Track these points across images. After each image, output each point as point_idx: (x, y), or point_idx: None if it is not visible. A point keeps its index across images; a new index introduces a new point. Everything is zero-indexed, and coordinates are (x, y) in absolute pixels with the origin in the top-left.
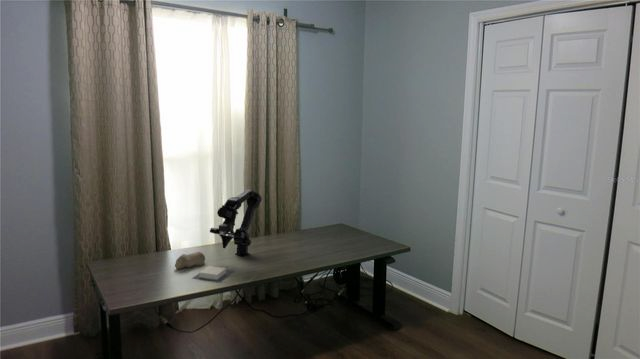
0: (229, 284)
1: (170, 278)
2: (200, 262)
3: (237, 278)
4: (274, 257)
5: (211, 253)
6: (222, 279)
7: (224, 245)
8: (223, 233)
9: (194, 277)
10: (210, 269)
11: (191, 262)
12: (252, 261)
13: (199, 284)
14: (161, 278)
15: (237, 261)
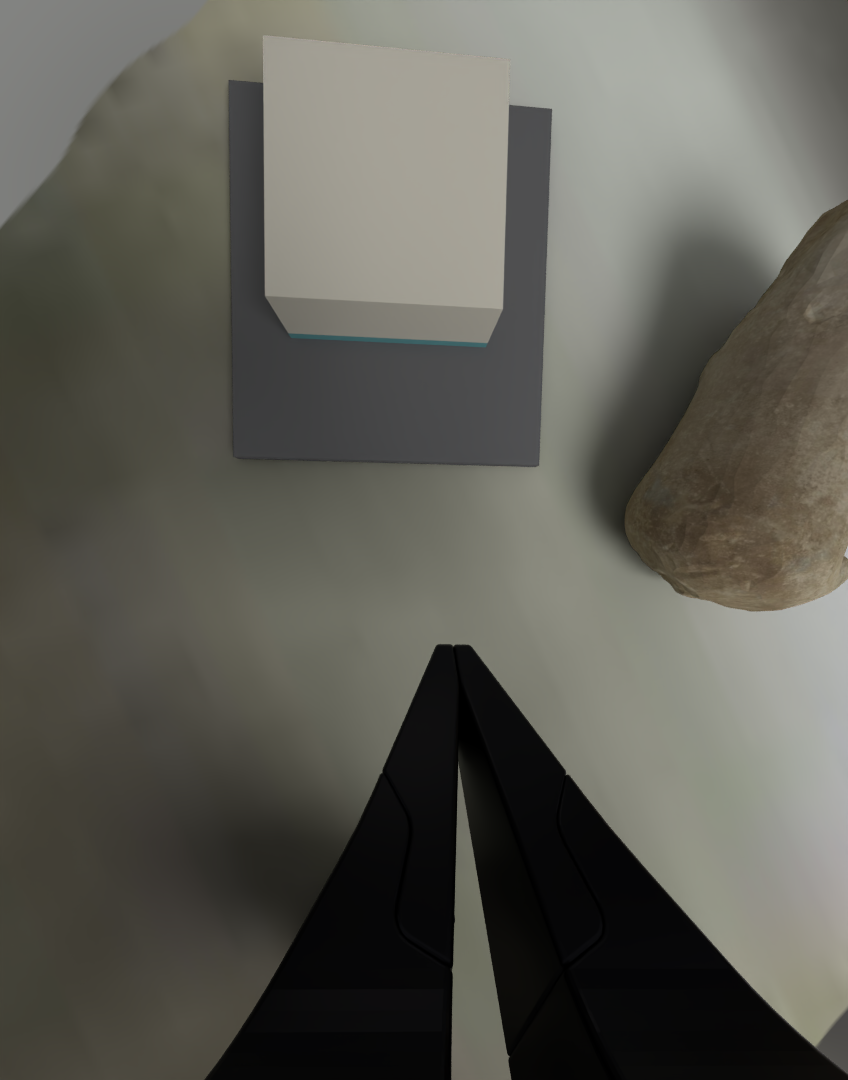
0: (141, 97)
1: (739, 94)
2: (653, 467)
3: (136, 279)
4: (28, 981)
5: (680, 847)
6: (250, 169)
7: (445, 683)
8: None
9: (538, 145)
10: (425, 196)
11: (738, 339)
12: (200, 786)
13: (420, 18)
14: (812, 72)
15: (346, 731)
